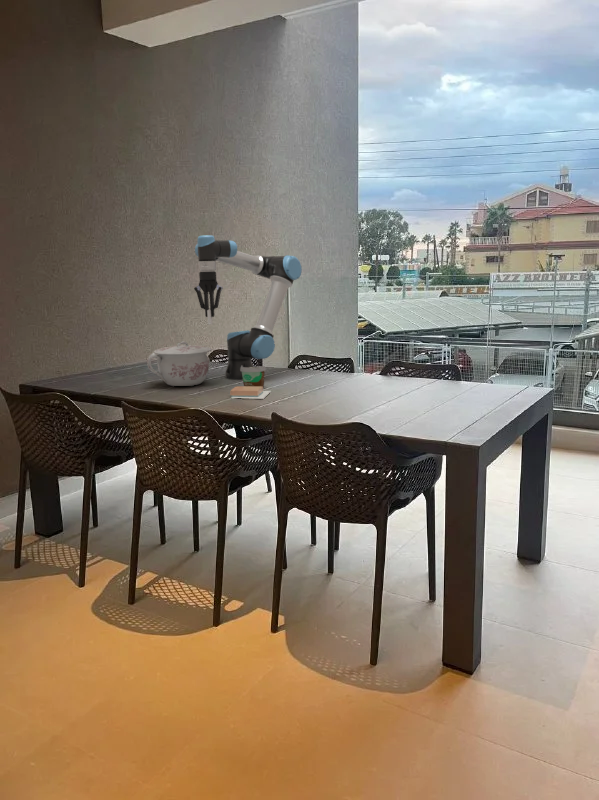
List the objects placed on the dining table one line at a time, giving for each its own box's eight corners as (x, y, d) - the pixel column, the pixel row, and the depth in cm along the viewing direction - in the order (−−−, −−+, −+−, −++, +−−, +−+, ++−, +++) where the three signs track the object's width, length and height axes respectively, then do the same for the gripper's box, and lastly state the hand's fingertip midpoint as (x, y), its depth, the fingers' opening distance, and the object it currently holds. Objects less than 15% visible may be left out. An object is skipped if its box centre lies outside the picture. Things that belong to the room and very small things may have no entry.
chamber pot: (219, 379, 320) (217, 337, 315) (206, 389, 293) (203, 344, 289) (164, 379, 322) (161, 338, 318) (146, 390, 296) (143, 345, 291)
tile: (236, 386, 283) (262, 386, 280) (236, 391, 283) (263, 392, 281) (230, 390, 273) (257, 390, 271) (230, 396, 273) (257, 396, 271)
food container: (236, 389, 293) (235, 367, 291) (242, 386, 299) (241, 365, 297) (261, 390, 289) (260, 368, 287) (266, 387, 295) (265, 366, 293)
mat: (240, 391, 286) (240, 390, 286) (271, 392, 284) (271, 390, 283) (230, 399, 270) (230, 398, 270) (263, 399, 268) (263, 398, 268)
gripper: (190, 271, 284) (193, 325, 288) (219, 270, 281) (222, 324, 286) (196, 271, 291) (199, 323, 296) (224, 270, 289) (226, 323, 294)
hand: (210, 324), depth 291 cm, fingers closed
